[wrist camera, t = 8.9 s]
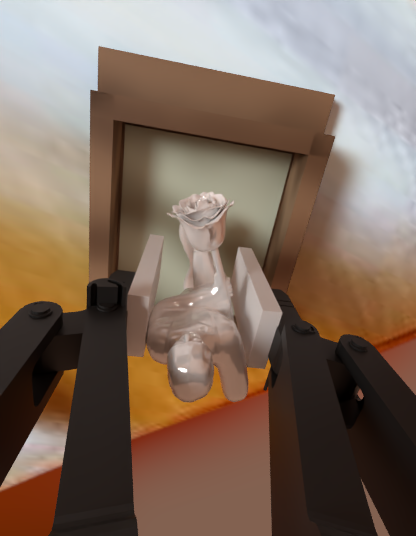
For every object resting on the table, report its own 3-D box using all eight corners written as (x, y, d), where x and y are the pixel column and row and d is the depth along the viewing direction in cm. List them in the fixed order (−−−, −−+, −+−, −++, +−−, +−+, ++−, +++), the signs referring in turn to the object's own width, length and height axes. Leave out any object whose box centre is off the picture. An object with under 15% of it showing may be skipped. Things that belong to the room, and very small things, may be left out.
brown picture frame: (103, 50, 18) (84, 34, 15) (328, 96, 20) (354, 90, 16) (97, 329, 26) (84, 357, 23) (256, 345, 28) (264, 373, 25)
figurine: (184, 315, 22) (183, 502, 11) (135, 189, 18) (60, 286, 7) (249, 296, 22) (314, 470, 11) (214, 164, 18) (259, 227, 7)
